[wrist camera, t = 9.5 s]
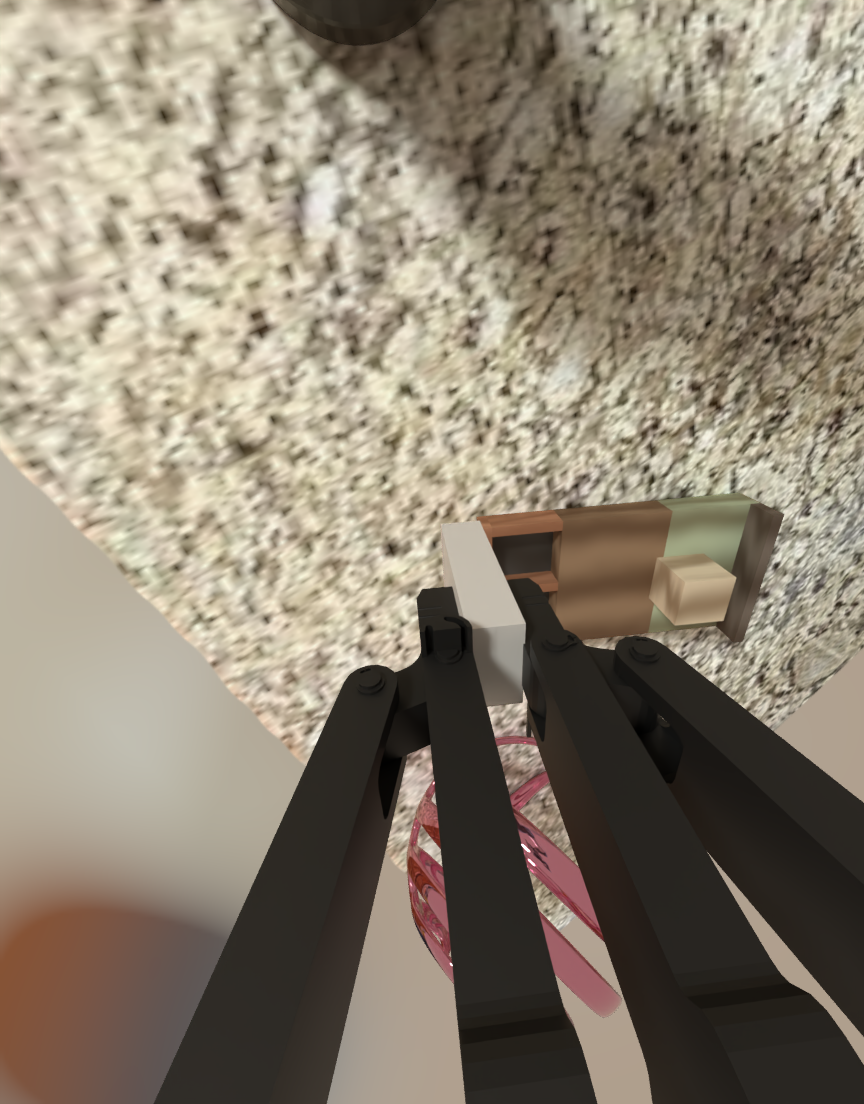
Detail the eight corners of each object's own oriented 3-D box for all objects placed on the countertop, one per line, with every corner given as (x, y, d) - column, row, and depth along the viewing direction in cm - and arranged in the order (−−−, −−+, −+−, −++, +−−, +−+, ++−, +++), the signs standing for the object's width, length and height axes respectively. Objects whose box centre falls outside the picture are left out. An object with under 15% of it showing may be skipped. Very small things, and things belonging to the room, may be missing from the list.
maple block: (657, 557, 46) (685, 582, 42) (703, 553, 46) (736, 577, 42) (648, 597, 48) (674, 625, 44) (693, 593, 49) (723, 620, 44)
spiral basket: (716, 811, 39) (535, 1167, 29) (695, 876, 57) (579, 1109, 48) (480, 658, 58) (321, 844, 48) (521, 744, 76) (412, 891, 66)
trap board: (476, 516, 46) (488, 542, 40) (739, 492, 47) (784, 514, 42) (478, 633, 53) (488, 668, 47) (707, 609, 54) (742, 641, 48)
